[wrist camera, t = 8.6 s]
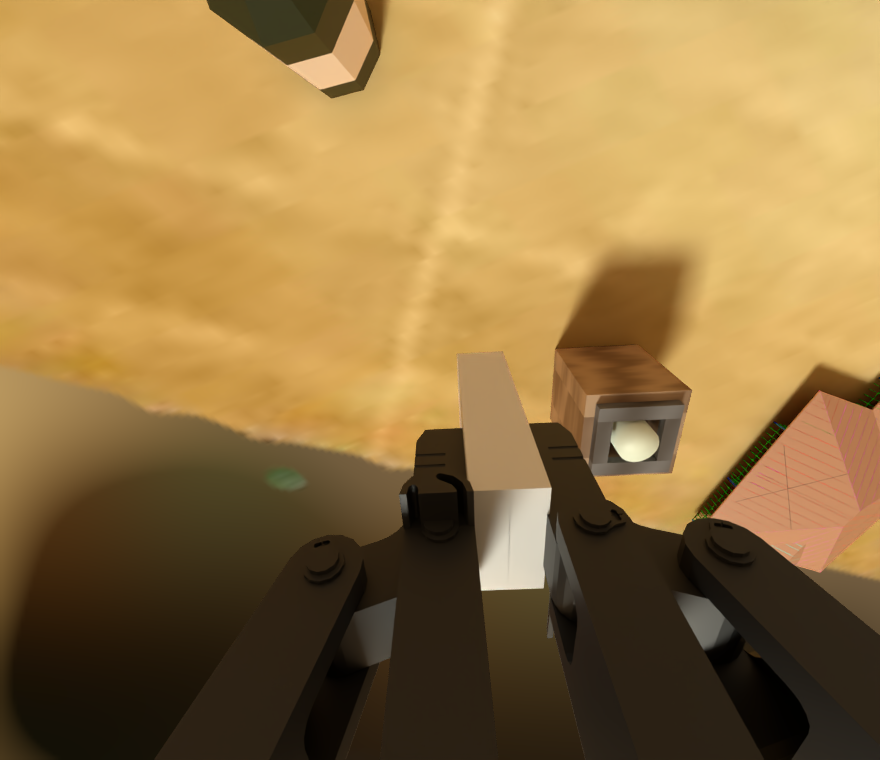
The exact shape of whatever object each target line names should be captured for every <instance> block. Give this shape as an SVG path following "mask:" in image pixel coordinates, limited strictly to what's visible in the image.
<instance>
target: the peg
mask: <svg viewBox="0 0 880 760" xmlns="http://www.w3.org/2000/svg"><path fill="white" fill-rule="evenodd" d="M611 443H612V444H613V446H614V448H615V449H616V451H617V452H618V454H619V455H620V457H621V458H623V459H624V460H626V461H629V462H639V461H643V460H645V459H647V458H649V457H651V456H652V455H653V454H654V453H655V452H656V450H657V449H658V446H659V437H658V435H657V434H656V433H655V431H654V430H653V429H652V428H651V427H650V426H649V424H648V423H647V422H646V421H645V420H638V421H617V422H613V428H612V435H611Z"/></svg>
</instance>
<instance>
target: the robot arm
mask: <svg viewBox="0 0 880 760" xmlns="http://www.w3.org/2000/svg"><path fill="white" fill-rule="evenodd" d="M457 368H458V392H459V415H460V428H455V429H434V430H425V431H424V432H423V434H422V435H421V436H420V438H419V439H418V440H417V443H416V454H415V455H416V457H415V465H414V466H415V468H414V476H413V477H411V478H410V479H409V480H408V481H407V482H406V483H405V484H404V485H403V487H402V489H401V492H400V494H399V497H400V504H401V512H402V519H403V526H402V527H401V528H400V529H399V530H398V531H397V532H395V533H394V534H393V535H391V536H389V537H387V538H385V539H382V540H380V541H378V542H374V543H371V544H368V545H365V546H362V547H360V546H359V545H358V544H357V543H356V542H355V541H354V540H353V539H351V538H348V537H345V536H343V535H327V536H324V537H320V538H317V539H314V540H312V541H310V542H309V543H307V544H305V545H304V546H302V547H301V548H300V549H299V550H298V551H297V552H296V553H295V554H294V555H293V556H292V557H291V558H290V560H289V561H288V563H287V564H286V566H285V567H284V569H283V570H282V572H281V573H280V574H279V576H278V577H277V579H276V581H275V582H274V583H273V585H272V586H271V588H270V589H269V591H268V592H267V594H266V595H265V597H264V598H263V600H262V601H261V603H260V604H259V606H258V607H257V608H256V610H255V611H254V613H253V614H252V616H251V617H250V619H249V620H248V622H247V623H246V625H245V626H244V628H243V629H242V631H241V632H240V634H239V635H238V637H237V638H236V640H235V641H234V643H233V644H232V646H231V647H230V649H229V650H228V651H227V653H226V654H225V656H224V658H223V659H222V660H221V662H220V663H219V665H218V666H217V668H216V669H215V671H214V672H213V674H212V675H211V677H210V678H209V680H208V681H207V682H206V684H205V686H204V687H203V688H202V690H201V691H200V693H199V694H198V696H197V697H196V699H195V700H194V702H193V703H192V705H191V706H190V708H189V709H188V711H187V712H186V713H185V715H184V716H183V718H182V720H181V721H180V722H179V724H178V725H177V727H176V728H175V730H174V731H173V733H172V734H171V736H170V737H169V739H168V740H167V742H166V743H165V745H164V746H163V748H162V749H161V751H160V752H159V753H158V755H157V757H156V758H155V759H154V760H346V757H347V755H348V752H349V749H350V746H351V743H352V740H353V737H354V735H355V732H356V729H357V726H358V723H359V720H360V717H361V715H362V711H363V709H364V706H365V703H366V700H367V697H368V694H369V692H370V689H371V686H372V683H373V680H374V677H375V675H376V672H377V669H378V666H379V662H381V661H383V660H385V659H388V658H390V668H389V676H388V677H389V678H388V687H387V696H386V706H385V716H384V725H383V735H382V744H381V754H380V760H498V751H497V742H496V731H495V721H494V712H493V702H492V692H491V682H490V672H489V663H488V653H487V643H486V633H485V622H484V614H483V603H482V593H481V590H505V589H533V588H543V587H544V575H546V579H547V583H548V586H549V590H550V599H549V610H548V622H547V638H553V631H554V634H555V638H556V642H557V646H558V650H559V655H560V658H561V662H562V666H563V671H564V675H565V679H566V683H567V687H568V691H569V695H570V699H571V703H572V707H573V711H574V715H575V719H576V724H577V727H578V732H579V735H580V740H581V744H582V748H583V752H584V756H585V760H880V635H879V634H877V633H876V632H875V631H874V630H873V629H871V628H870V627H869V626H868V625H866V624H865V623H864V622H863V621H862V620H860V619H859V618H858V617H857V616H855V615H854V614H853V613H852V612H851V611H849V610H848V609H847V608H846V607H845V606H843V605H842V604H841V603H839V602H838V601H837V600H836V599H835V598H833V597H832V596H831V595H830V594H828V593H827V592H826V591H825V590H824V589H823V588H821V587H820V586H819V585H818V584H816V583H815V582H814V581H813V580H812V579H810V578H809V577H808V576H807V575H805V574H804V573H803V572H802V571H801V570H799V569H798V568H797V567H796V566H795V565H793V564H792V563H791V562H790V561H788V560H787V559H786V558H785V557H784V556H782V555H781V554H780V553H779V552H777V551H776V550H775V549H774V548H773V547H771V546H770V545H769V544H768V543H766V542H765V541H764V540H763V539H762V538H760V537H759V536H757V535H756V534H754V533H752V532H751V531H749V530H748V529H746V528H744V527H742V526H739V525H737V524H735V523H732V522H730V521H726V520H721V519H715V518H702V519H696V520H694V521H692V522H690V523H688V524H687V526H686V528H685V530H684V532H683V535H681V534H676V533H671V532H666V531H661V530H656V529H651V528H648V527H644V526H640V525H638V524H636V523H633V522H632V520H631V519H630V517H629V516H628V515H627V514H626V513H625V511H624V510H623V509H622V508H620V507H618V506H617V505H615V504H614V503H612V502H611V501H608V500H606V499H605V497H604V495H603V493H602V491H601V489H600V487H599V485H598V483H597V482H596V480H595V478H594V476H593V474H592V472H591V470H590V468H589V466H588V464H587V462H586V460H585V459H584V458H583V454H582V452H581V450H580V449H579V448H578V445H577V443H576V441H575V439H574V437H573V435H572V433H571V432H570V431H568V430H567V429H566V428H565V427H563V426H562V425H561V424H559V423H558V422H553V423H532V424H529V423H528V421H527V418H526V415H525V412H524V409H523V407H522V404H521V401H520V398H519V395H518V393H517V390H516V387H515V384H514V382H513V379H512V376H511V373H510V370H509V368H508V365H507V362H506V359H505V356H504V354H503V351H501V352H481V353H462V354H457Z"/></svg>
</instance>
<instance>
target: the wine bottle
mask: <svg viewBox="0 0 880 760" xmlns="http://www.w3.org/2000/svg"><path fill="white" fill-rule="evenodd" d="M207 2H208V5H209V8H210V10H212V11H213V12H214V13H216V14H217V15H219V16H220V17H221V18H223V19H224V20H225V21H227V22H228V23H229V24H231V25H232V26H233V27H235V28H236V29H238V30H239V31H240V32H242V33H243V34H244V35H246V36H247V37H248V38H250V39H251V40H252V41H254V42H255V43H256V44H258V45H259V46H261V47H262V48H263V49H265V50H266V51H267V52H269V53H270V54H271V55H273V56H274V57H275V58H277V59H278V60H279V61H281V62H282V63H284V64H285V65H286V66H288V67H289V68H290V69H292V70H293V71H294V72H296V73H297V74H298V75H300V76H301V77H303V78H304V79H305V80H307V81H308V82H309V83H311V84H312V85H314V86H315V87H316V88H318V89H319V90H321V91H322V92H323V93H325V94H326V95H328V96H329V97H330V98H335V97H339V96H343V95H346V94H350V93H354V92H358V91H361V90H364V88H365V86H366V84H367V82H368V80H369V77H370V75H371V73H372V71H373V69H374V67H375V65H376V62H377V60H378V58H379V56H380V51H379V47H378V42H377V38H376V34H375V29H374V25H373V20H372V16H371V11H370V8H369V6H368V4H367V1H366V0H207Z"/></svg>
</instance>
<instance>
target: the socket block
mask: <svg viewBox="0 0 880 760" xmlns="http://www.w3.org/2000/svg"><path fill="white" fill-rule="evenodd" d="M691 392H692V390H691V389H690V388H689V387H688V386H687V385H685V384H684V383H683V382H682V381H681V380H679V379H678V378H677V377H676V376H675V375H673V374H672V373H671V372H670V371H669V370H668V369H666V368H665V367H664V366H663V365H662V364H660V363H659V362H658V361H657V360H656V359H654V358H653V357H652V356H651V355H650V354H648V353H647V352H646V351H645V350H644V349H642V348H641V347H640V346H639V345H619V346H600V347H581V348H562V349H555V361H554V375H553V389H552V403H551V416H550V419H551V421H552V423H553V422H558V423H559V424H561V425H562V426H563V427H565V428H566V429H567V430H568V431H570V432H571V433H572V435H573V437H574V439H575V441H576V443H577V445H578V448H579V449H580V450H581V452H582V454H583V458H584V459H585V460H586V462H587V464H588V466H589V468H590V470H591V472H592V474H593V476H594V477H596V476H619V475H642V474H665V473H672V471H673V467H674V462H675V458H676V454H677V450H678V446H679V442H680V438H681V434H682V430H683V425H684V421H685V417H686V413H687V409H688V405H689V401H690V397H691ZM638 420H645V421H646V422H647V423H648V424H649V426H650V427H651V428H652V429H653V430H654V431H655V433H656V434H657V435H658V437H659V446H658V449H657V450H656V452H655V453H654V454H653V455H652V456H651V457H649V458H647V459H645V460H643V461H639V462H629V461H626V460H624V459H623V458H621V457H620V455H619V454H618V452H617V451H616V449H615V448H614V446H613V444H612V443H611V435H612V428H613V422H617V421H638Z"/></svg>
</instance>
